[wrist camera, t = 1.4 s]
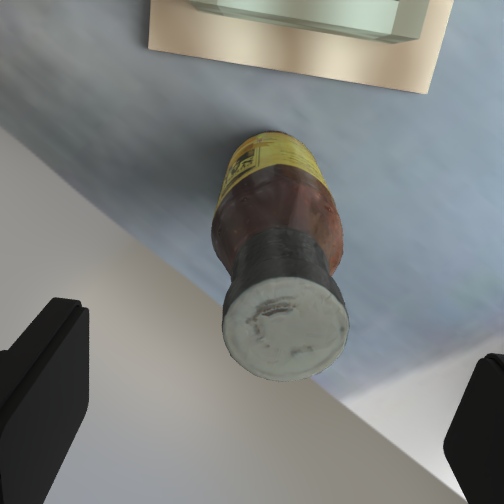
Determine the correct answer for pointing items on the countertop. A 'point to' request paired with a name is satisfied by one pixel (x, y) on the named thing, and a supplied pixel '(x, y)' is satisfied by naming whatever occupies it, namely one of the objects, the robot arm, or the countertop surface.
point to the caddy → (310, 36)
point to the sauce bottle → (280, 260)
